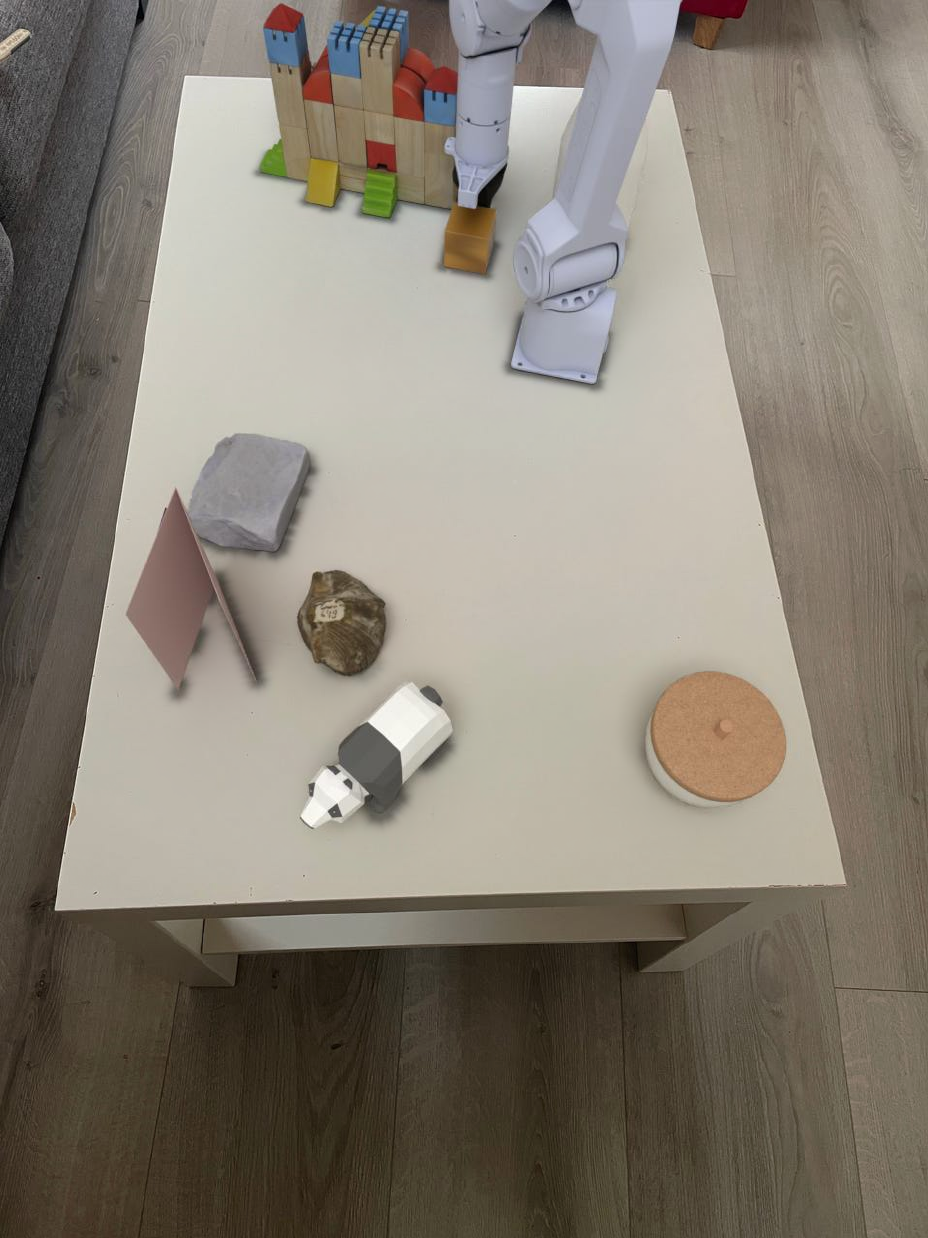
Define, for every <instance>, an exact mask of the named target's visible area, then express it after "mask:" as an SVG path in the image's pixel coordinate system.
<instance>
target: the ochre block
mask: <svg viewBox="0 0 928 1238" xmlns="http://www.w3.org/2000/svg"><path fill="white" fill-rule="evenodd" d="M496 222H497V209H496V208H495V209H494V208H491V207H490V208H485V207H479V206H476V209H473V208H466V207H462V206H458V201H455V202H454V204H453V207H452V209H450V213H449V217H448V220H447V223H446V226H445V229H444V240H443V241H444V243H443V244H444V245H443V267H444V268H448V269H449V268H450V269H455V270H460V271H464V272H469V273H475V274H479V275H480V274H481V275H486V273H487V270H488V267H489V263H490V259H491V255H492V254H493V253H492V252H493V249H494V245H495V234H496Z"/></svg>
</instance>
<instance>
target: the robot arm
mask: <svg viewBox="0 0 928 1238" xmlns="http://www.w3.org/2000/svg"><path fill="white" fill-rule="evenodd" d="M552 1H553V0H448V15H449V16H448V17H449V24H450V30H451V34H452V38H453V42H454V43H455V46H456V48H457V50H458V59H457V60H458V61H457V62H458V63H457V64H458V65H457V73H458V87H457V116H456V138H454V137H449V138H448V139H447V140H446V143H445V153H446V154H450V155H453V157H454V160H455V166H454V169H453V173H452V177H453V182H454V183H455V185H456V186H457V188H458V195H457V202H458V206H462V207H466V208H473V209H476V206H479V207H485V208H490V209H491V206H492V202H493V199H494V197H495V195H496V194H497V192H498V191H499V189H500V188H501V186H502V184H503V181H504V177H505V174H506V170H507V167H508V162H509V158H510V147H509V140H510V139H509V137H510V127H511V119H512V117H511V116H512V107H513V98H514V97H513V95H514V86H515V85H514V84H515V76H516V75H515V74H516V67H518V66H519V65H520V63H522V60H523V51H524V48H525V46H526V44H527V43H528V41H529V40H530V37H531V34H532V27H533V25H532V21H533V20H534V19H535V18H536V17H537V16H538V15H539V14H540V13H541V12H542V11H544V9H545V8H546V7H548V5H550V3H551V2H552ZM567 2H568V3H569V7H570V10H571V13H572V15H573V19H574V22H575V25H577V26H578V27H580V28H582V29H584V30H586V31H587V32H589V33H591V34H593V35H595V36H596V41H595V45H594V47H593V48H594V49H593V52H592V56H591V60H590V63H589V67H588V70H587V74H586V78H585V82H584V85H583V91H582V94H581V97H580V98H581V100H580V99H579V100H580V104H579V108H578V112H577V115H576V119H575V123H574V127H573V130H572V134H571V138H570V141H569V145H568V149H567V153H566V156H565V160H564V164H563V168H562V171H561V175H560V179H559V183H558V186H557V190H556V194H555V197H554V199H553V200H552V199H551V200H550V201H549V202H547V204H545V205H544V206H543V207H542V208H540V210H538V211H536V213H534V214H533V215H532V216H531V217H530V218H529V219H528V220H527V221H526V225H525V229H524V232H523V233H522V234H521V235H520V236H519V237H518V238H517V240H516V242H515V245H514V248H513V253H512V265H513V271H514V274H515V280H516V281H517V285H518V287H519V289H520V290H521V292H522V294H523V295H524V296H525V297H526V298H525V303H524V304H525V305H524V311H523V315H522V318H521V322H520V325H519V331H518V334H517V338H516V341H515V346H514V350H513V354H512V357H511V361H510V367H511V368H512V369H514V370H519V371H524V372H528V373H534V374H539V375H545V376H549V377H554V378H555V377H556V378H560V379H565V380H570V381H574V382H575V381H576V382H581V383H584V384H590V385H593V384H596V383H597V380H598V379H597V378H598V375H599V370H600V366H601V363H602V360H603V359H602V358H603V355H604V354H606V353H607V348H608V346H609V345H608V344H609V340H610V336H609V332H610V327H611V323H612V320H613V315H614V310H615V304H616V299H617V295H618V290H617V289H615V288H612V287H609V286H607V283H608V281H610V280H614V279H616V278H617V277H618V276H620V274H621V272H622V270H623V266H624V262H625V259H626V241H627V238H628V236H629V233H630V230H629V228H628V226H627V223H626V221H625V218H624V216H623V214H622V212H621V210H620V209H619V207H618V206H617V204H616V200H617V197H618V194H619V192H620V189H621V186H622V183H623V180H624V178H625V175H626V172H627V169H628V166H629V164H630V161H631V158H632V155H633V152H634V150H635V147H636V144H637V141H638V138H639V136H640V133H641V130H642V127H643V124H644V122H645V119H646V120H647V116H648V113H649V110H650V107H651V105H652V103H653V102H652V101H653V99H654V96H655V93H656V91H657V87H658V86H659V82H660V79H661V76H662V74H663V71H664V68H665V66H666V63H667V60H668V58H669V55H670V51H671V48H672V45H673V42H674V38H675V33H676V29H677V22H678V18H679V12H680V6H681V4H682V2H683V0H567Z"/></svg>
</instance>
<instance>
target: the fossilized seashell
mask: <svg viewBox="0 0 928 1238" xmlns="http://www.w3.org/2000/svg"><path fill="white" fill-rule="evenodd" d="M310 581H311V582H310V587H309V589H308V593H307V595H306V597H305V599H304V601H303V603H302V605H301V607H300V608H299V610H298V612H297V616H296V618H297V627H298V630H299V632H300V637H301V638H302V641H303V643H304V644H305V647H307V649H308V650H309V651H310V653H312V659H313V662H314V663H315V664H321V665H324V666H325V667H327V668H329V669H331V670H332V672H334V673H336V674H338V675H341V676H343V677H353V676H355V675H357V674H360V673H363V672H364V671H366V670H367V669H368V668H369V667H370V666H371V665H372V664H373V663H374V662H375V660H376V658H377V657H378V655H379V653H380V650H381V648H382V646H383V645H384V644H383V643H384V638H385V637H384V636H385V633H386V629H387V627H386V626H387V618H386V613H385V606H386V602H385V600H384V599H382V598H381V597H379V596H377V595H376V594H375V593H374V592H373V591H372V590H371V589H370V588H369V587H368V585H366V584H365V583H364V582H363V581H362V580H360V579H358V578H357V577H355V576H352V575H351V574H350V573H348V572H346V571H343V570H339V569H333V570H328V571H324V572H321V571H315V572H313V573H312V575H311V580H310Z"/></svg>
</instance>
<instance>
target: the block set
mask: <svg viewBox="0 0 928 1238" xmlns="http://www.w3.org/2000/svg"><path fill="white" fill-rule="evenodd" d="M397 14H398V15H397ZM409 28H410V25H409V11H408V10H403V9H399V13H398V11H397V9H396V8H389V9H388V11H387V9H386V6H382V5H379V6H377V7H376V9H374V10H373V11H372V12H371V13H370V14H368V16H366V17H365V18H364V19H363V21H362V22H360V24H358V25H357V26H356V24H355V23H352V22H347V23H346V24H345V23H344V21H340V20H336V21H334V23H333V27H331V29H330V32H329V33H328V35H327V37H326V45H325V47H324V48H323V50H322V52H321V54H320V56H319V58H318V60H317V61H314V62H313V63H312V60H311V57H310V50H309V44H308V37H307V29H306V21H305V16H304V13H303V12H301V11H299V10H296V9H294V8H292V7H290V6H289V5H287V4H284V3H279V4H277V5H275V6H274V7H273V8H272V10H271V12H270V14H269V15H268V16H267V18H266V20H265V22H264V24H263V29H262V30H263V36H264V42H265V48H266V55H267V60H268V67H269V73H270V79H271V85H272V90H273V91H272V92H273V97H274V104H275V111H276V116H277V121H278V128H279V134H280V135H279V136H280V138H279V139H278V142H277V143H274V144H273V146H272V148H269V149H267V150H266V152H265V154H264V156H263V159H262V161H261V163H260V165H259V171H260V172H261V173H263V174H268V175H272V176H279V177H284V178H288V179H291V180H297V181H302V182H307V186H306V193H305V194H306V195H305V202H307V203H310V204H314V205H320V206H324V207H329V208H331V207H333V206H334V205H335V203H336V200H337V198H338V196H339V193H340V191H341V189H342V190H347V191H352V192H356V193H362V194H363V195H362V197H363V198H362V199H363V202H362V205H361V213H363V214H367V215H372V216H376V217H383V218H391V215H392V214H393V211H394V208H395V206H396V203H397V202H398V201H399V200H400V201H404V202H409V203H415V204H420V205H427V206H432V207H438V208H443V209H448V210H452V207H453V204H454V202H457V201H456V200H457V199H458V188H457V186H456V185H455V183H454V182H453V177H452V173H453V169H454V166H455V160H454V157H453V155H450V154H446V153H445V143H446V140H447V139H448V138H449V137H454V138H456V116H457V87H458V71H456V70H454V69H452V68H450V67H448V66H445V65H443V66H439V67H437V68H436V67H435V65H434V63H433V62H432V60H431V59H430V58H429V57H428V56H427V55H426V54H425V53H423V52H422V51H420V50H419V49H416V48H414V47H410V29H409ZM397 200H398V201H397Z"/></svg>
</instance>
